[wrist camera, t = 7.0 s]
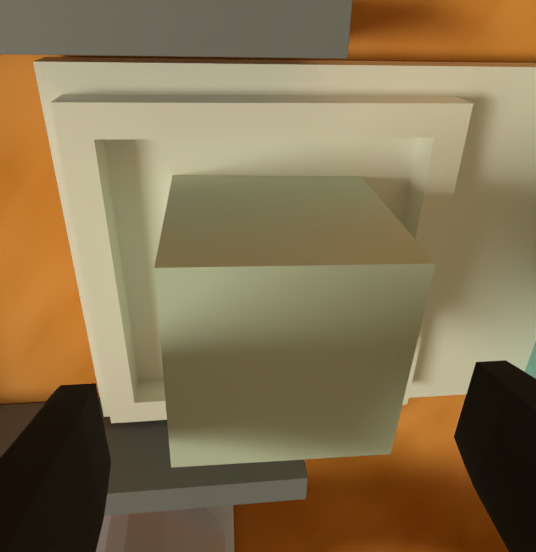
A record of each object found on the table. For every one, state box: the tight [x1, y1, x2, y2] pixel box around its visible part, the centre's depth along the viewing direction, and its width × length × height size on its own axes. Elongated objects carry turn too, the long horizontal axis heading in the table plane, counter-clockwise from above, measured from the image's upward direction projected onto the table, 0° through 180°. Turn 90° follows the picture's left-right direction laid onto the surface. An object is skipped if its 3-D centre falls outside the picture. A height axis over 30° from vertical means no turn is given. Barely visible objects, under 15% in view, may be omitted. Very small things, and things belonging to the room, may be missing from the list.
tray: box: [33, 57, 536, 423], centre depth 13 cm, size 13×16×5 cm
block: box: [154, 175, 436, 468], centre depth 12 cm, size 5×5×5 cm
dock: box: [0, 0, 353, 516], centre depth 13 cm, size 14×16×4 cm
